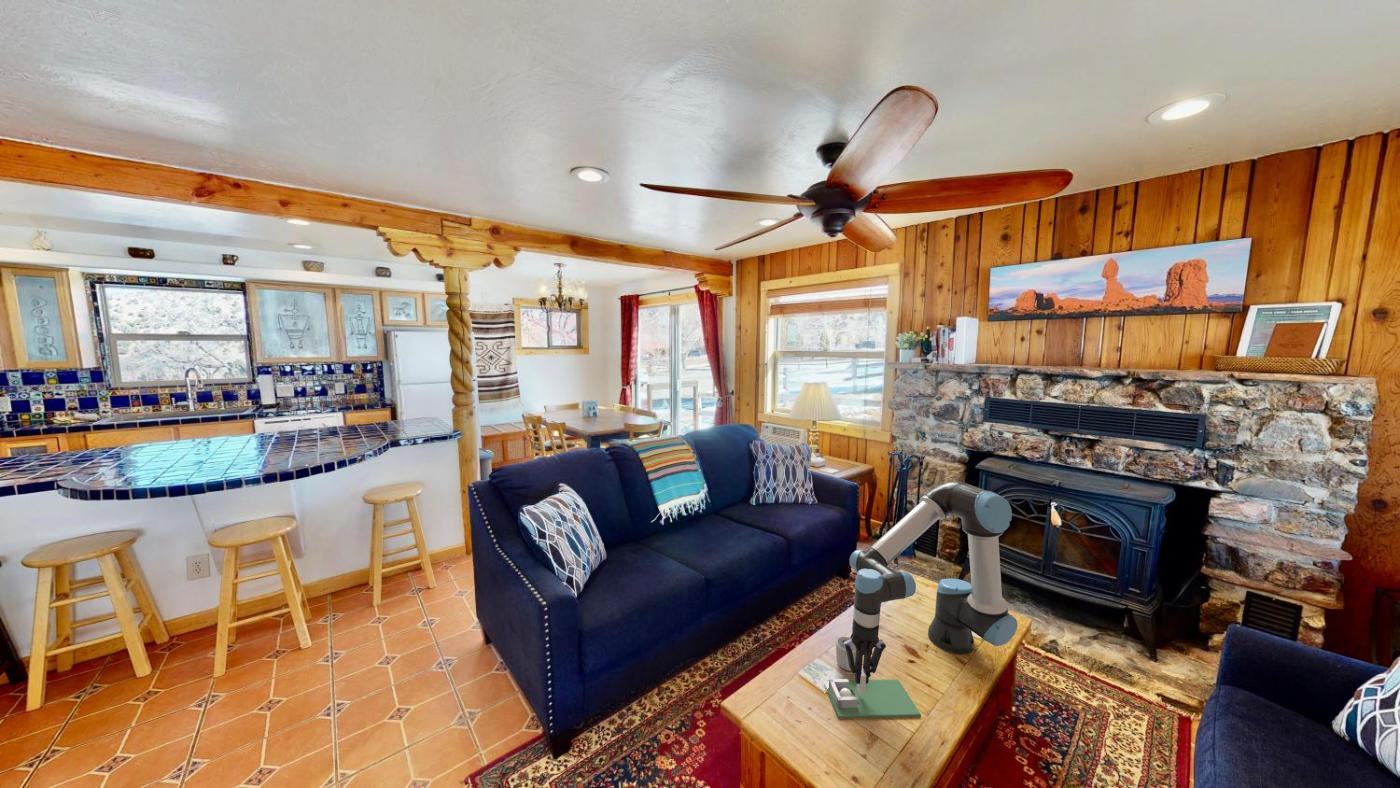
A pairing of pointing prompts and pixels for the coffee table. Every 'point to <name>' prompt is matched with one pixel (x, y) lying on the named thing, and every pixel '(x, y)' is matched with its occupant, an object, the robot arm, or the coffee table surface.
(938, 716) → the coffee table surface
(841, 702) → the white u-shaped bracket
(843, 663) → the cup
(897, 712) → the green mat
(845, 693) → the ball
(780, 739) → the coffee table surface
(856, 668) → the robot arm
